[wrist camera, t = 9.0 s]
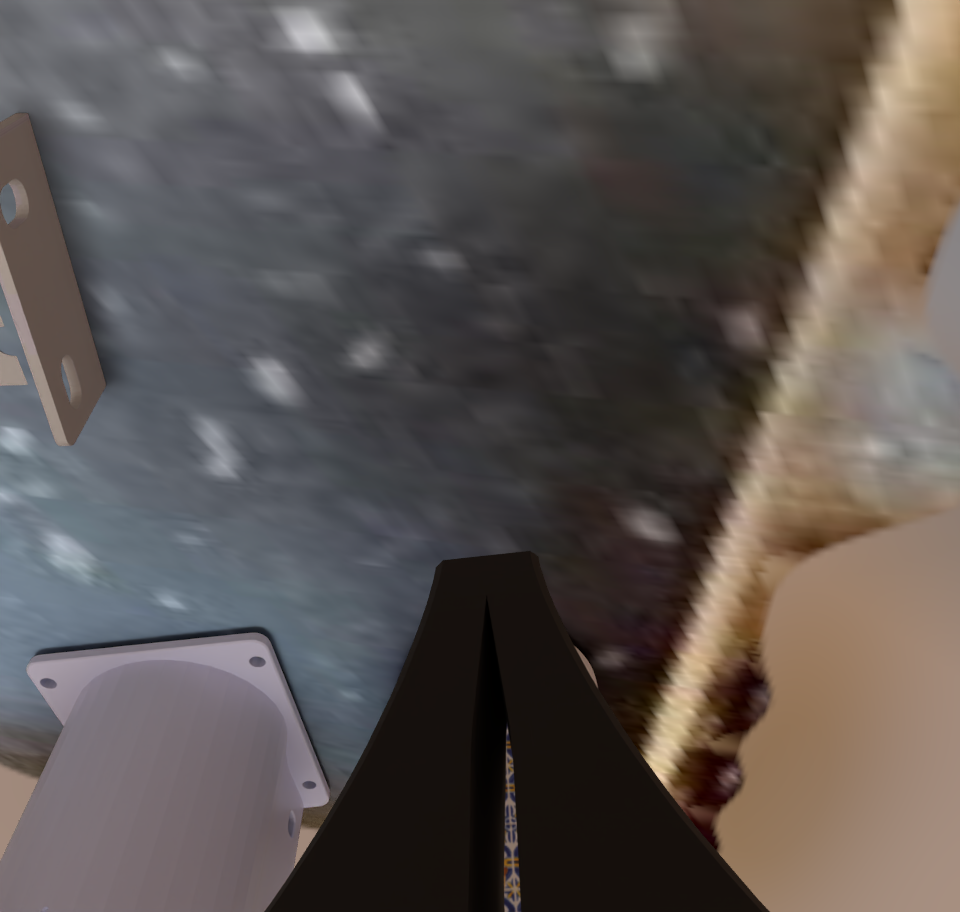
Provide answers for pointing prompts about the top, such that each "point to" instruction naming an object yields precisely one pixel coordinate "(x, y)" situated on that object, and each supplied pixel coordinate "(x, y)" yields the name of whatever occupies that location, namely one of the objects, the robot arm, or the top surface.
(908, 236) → the top surface
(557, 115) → the top surface
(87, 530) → the top surface
